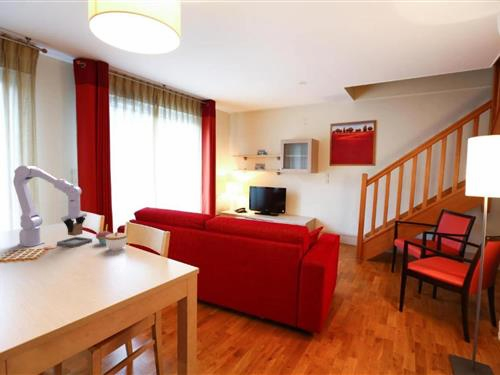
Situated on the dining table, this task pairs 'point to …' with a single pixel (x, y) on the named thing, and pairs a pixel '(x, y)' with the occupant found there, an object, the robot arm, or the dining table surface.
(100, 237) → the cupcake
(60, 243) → the slate tray
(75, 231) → the walnut block
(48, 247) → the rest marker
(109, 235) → the lidded jar
